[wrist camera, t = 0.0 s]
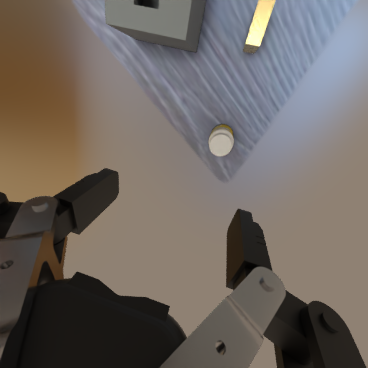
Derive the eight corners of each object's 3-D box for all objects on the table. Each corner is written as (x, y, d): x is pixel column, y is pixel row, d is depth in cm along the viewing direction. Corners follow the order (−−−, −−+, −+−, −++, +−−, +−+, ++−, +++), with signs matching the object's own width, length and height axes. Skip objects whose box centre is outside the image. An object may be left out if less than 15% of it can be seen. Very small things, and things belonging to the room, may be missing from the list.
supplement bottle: (228, 147, 37) (228, 161, 30) (208, 142, 38) (203, 155, 31) (236, 126, 35) (238, 136, 28) (214, 121, 35) (211, 129, 28)
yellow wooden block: (254, 11, 26) (261, -7, 21) (267, 14, 26) (276, -5, 21) (242, 51, 29) (245, 43, 24) (254, 53, 28) (259, 46, 23)
